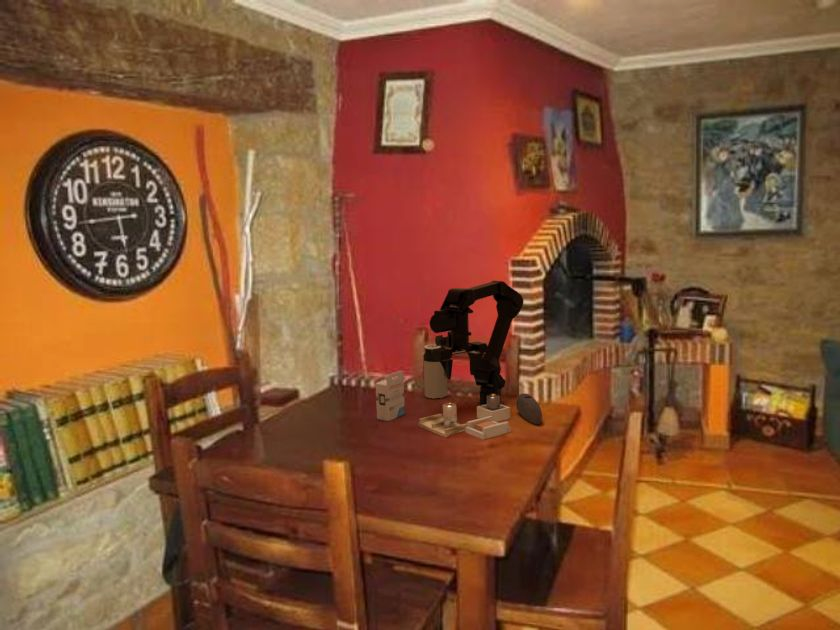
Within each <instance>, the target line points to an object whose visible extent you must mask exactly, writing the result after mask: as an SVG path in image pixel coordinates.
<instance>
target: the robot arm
mask: <svg viewBox="0 0 840 630" xmlns="http://www.w3.org/2000/svg"><path fill="white" fill-rule="evenodd" d="M491 296H492V299H493V300H494V301H496V306H495V309H496V313H497V317H496V321H495V323H494V326H493V329H492V331H491V334H490V335H491V336H490V338H489V341H488V344H487V343H486V342H480V341H471V342H470V337H469V336H472V332H471V331H470V330H469V329H470V328H469V323H470V322H469V320H470V319H469V314H473V313H474V310H473V309H471V308H470V306H473V305H474V304H475V303H476V302H477V301H478V300H482V299H484V298H488V297H491ZM524 303H525V301H524V298H523V296H522V294H521V293H519V292H518V291H517V290H516V289H514V288H512V287H511V286H509V285H508V284H507V283H506V282H505V281H503V280H491V281H490V282H487V283H483V284H479V285H477V286H476V285H475V286H471V287H468V288H465V287H463V288H462V287H458V288H457V287H455V288H449V289H448V292H447V294H446V295H445V298H444V300H443V302H442V303H441V306H440V308H439V310H438V309H437V310H434V311H433V315H431V317H430V320H429V327H430V330H431V331H432V332H433V333H435V334H439V333H447V336H444V335H442V334H440V335H436V336H435V337H434V338H435V339H434V342H435V343H434V344H436V346H440V347H441V348H435V349H433V350H432V352H431V358H435V360H438V361H439V362H440V363H441V365H442V367H443V369H444V372H445V374H446V377H447V381H448V380H449V381H450V380H451V379H452V371H453V362H454V361H453V359H452V357H453V356H454V355H458V354H459V355H460V354H465V353H467V355H468V358H469V373H470V376H473V378H474V381H475V384H476V386H478V387H480V388H479V389H480V391H479V401H477V404H479V405H481V406H482V405H486V404H487V395H490V394H492V393H494V394H496V395H499V396H500V404H501V405H504V402H503V401H501V399H502V398H501V394H502V393H501V392H502V391H501V390H502V389H503V388H505V386H506V380H505V378H504V377H503V376H502V375H501V371H502V368H501V363H500V357H501V355H502V351H503V349H504V346H505V343H506V340H507V336H508V333H509V331H510V327H511V325H512V321H513V320H514V319H515V318H516V317H517V316H518V315H519V314H520V312H521V310H522V308H523V306H524Z"/></svg>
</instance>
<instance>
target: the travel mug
mask: <svg viewBox="0 0 840 630" xmlns="http://www.w3.org/2000/svg"><path fill="white" fill-rule="evenodd" d="M423 347H424V351H425V352H424V353H423V377H424V379H423V382H424V397H426V398H428V399H431V398H432V399H433V400H437V399H436V398H440V399H444V398H446V397H447V396H448V379H447V377H446V374H445V372H444V369H443V367H442V365H441V363H440V362H439V361H438V360H435V358H431V352H432V350H433V349H435V348H441V347H440V346H436V343H431V344H426V345H424V346H423ZM445 396H446V397H445ZM443 397H444V398H443ZM434 398H435V399H434Z"/></svg>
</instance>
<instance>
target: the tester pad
mask: <svg viewBox="0 0 840 630" xmlns="http://www.w3.org/2000/svg"><path fill="white" fill-rule="evenodd" d="M491 425H495V424H494V423H492V422H489V421H488V422H484V423H480V424H476V430H478V431H481V432H482V428H484V427H488V426H491Z"/></svg>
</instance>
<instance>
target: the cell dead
mask: <svg viewBox="0 0 840 630" xmlns="http://www.w3.org/2000/svg"><path fill="white" fill-rule="evenodd" d="M487 409H488V410H491V411H495V410H499V409H500V396H499V395H496V394H494V393H492V394H490V395H487Z"/></svg>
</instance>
